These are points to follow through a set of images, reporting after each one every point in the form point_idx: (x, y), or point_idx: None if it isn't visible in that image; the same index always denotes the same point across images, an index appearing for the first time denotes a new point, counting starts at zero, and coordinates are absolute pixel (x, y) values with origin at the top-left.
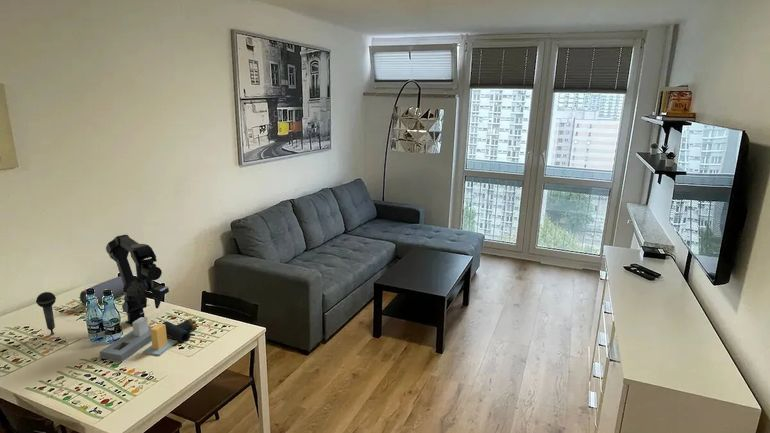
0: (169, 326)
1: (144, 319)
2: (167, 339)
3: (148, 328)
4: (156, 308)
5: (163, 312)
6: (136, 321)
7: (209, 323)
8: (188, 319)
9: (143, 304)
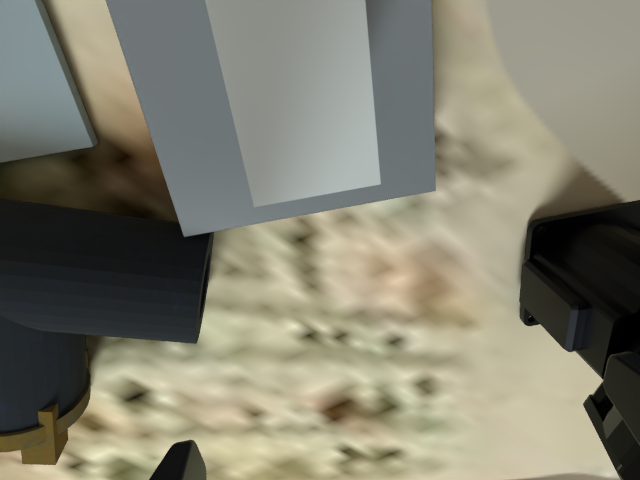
0: (45, 282)
1: (247, 148)
2: (5, 154)
3: None
4: (176, 445)
5: (471, 418)
6: (315, 8)
7: (21, 472)
8: (15, 448)
9: (617, 420)
